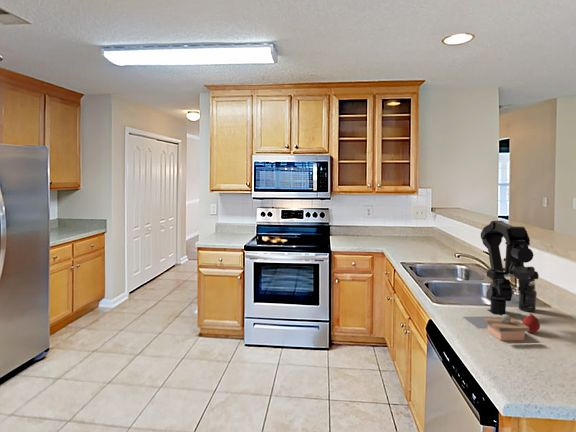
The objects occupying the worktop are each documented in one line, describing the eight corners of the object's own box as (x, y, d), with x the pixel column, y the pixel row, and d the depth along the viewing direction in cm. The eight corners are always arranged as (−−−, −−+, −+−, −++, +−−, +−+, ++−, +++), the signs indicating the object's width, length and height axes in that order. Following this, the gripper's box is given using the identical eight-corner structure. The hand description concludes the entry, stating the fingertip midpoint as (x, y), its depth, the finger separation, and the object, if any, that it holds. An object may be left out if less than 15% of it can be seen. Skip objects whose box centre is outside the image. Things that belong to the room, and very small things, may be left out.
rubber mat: (462, 318, 178) (462, 316, 178) (492, 317, 179) (492, 316, 178) (478, 329, 165) (478, 328, 165) (510, 329, 166) (510, 327, 166)
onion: (533, 330, 165) (534, 310, 164) (542, 336, 159) (544, 315, 158) (518, 330, 164) (520, 310, 164) (527, 336, 159) (529, 316, 158)
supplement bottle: (515, 306, 193) (517, 281, 192) (531, 307, 192) (533, 282, 191) (521, 311, 186) (523, 285, 185) (538, 312, 185) (540, 286, 184)
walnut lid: (483, 320, 162) (484, 311, 162) (511, 320, 163) (511, 310, 163) (500, 331, 152) (500, 321, 151) (529, 330, 152) (529, 320, 152)
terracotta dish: (487, 332, 162) (487, 321, 161) (509, 332, 163) (510, 321, 162) (500, 342, 153) (501, 330, 153) (524, 341, 154) (524, 329, 153)
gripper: (502, 261, 161) (500, 301, 162) (549, 261, 162) (546, 300, 164) (487, 255, 172) (484, 292, 173) (530, 255, 173) (528, 292, 175)
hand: (510, 294), depth 171 cm, fingers open, 9 cm apart
